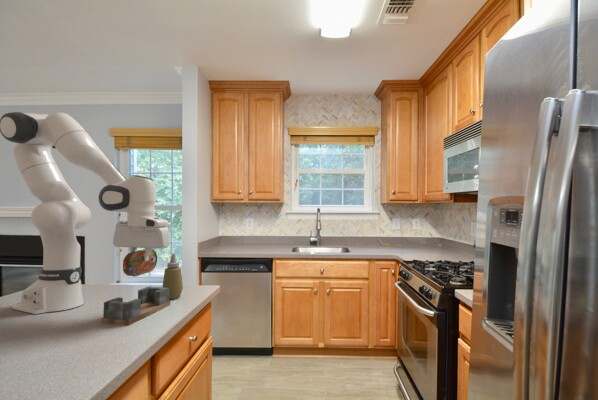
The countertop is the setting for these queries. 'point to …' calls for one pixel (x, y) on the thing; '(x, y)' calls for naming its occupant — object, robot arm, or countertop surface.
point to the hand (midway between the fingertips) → (140, 260)
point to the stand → (135, 306)
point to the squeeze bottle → (173, 278)
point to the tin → (139, 263)
